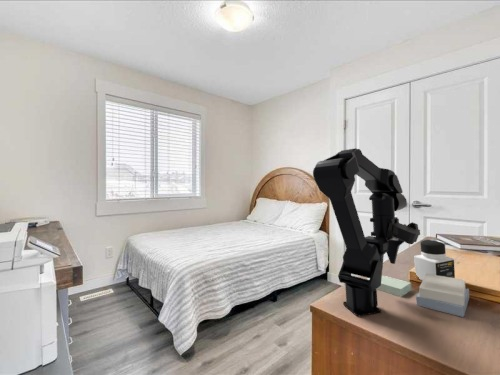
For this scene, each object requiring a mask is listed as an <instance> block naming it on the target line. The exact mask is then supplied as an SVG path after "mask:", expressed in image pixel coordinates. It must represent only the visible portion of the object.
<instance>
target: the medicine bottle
mask: <svg viewBox="0 0 500 375" xmlns="http://www.w3.org/2000/svg"><path fill="white" fill-rule="evenodd" d="M446 251H447V250H446V244H445V242H443V241H441V240H438V239H424V240H422V241H420V254H416V255H414V256H413V258H414V259H413V260H414V271H415V272H414V274H415V273H416V275H417V276H418V277H419V279H420V281H421V282H422V281H423V279H424V276H425V274H432V275H438V276H444V277H451V278H456V270H455V260H454V259H455V258H452V257H450V256H447V254H446ZM419 279H418V280H419Z"/></svg>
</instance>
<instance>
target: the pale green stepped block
mask: <svg viewBox="0 0 500 375" xmlns="http://www.w3.org/2000/svg"><path fill="white" fill-rule="evenodd" d="M365 279H367V280H370V278H367V277H365ZM376 290H377V291H381V292H385V293H388V294H391V295H394V296H397V297H401V298H402V297H403V296H405V295H406V294H408V293H410V292H411V291H412V282H409V281H405V280H401V279H398V278H396V277H395V278H394V277H390V276H386V275H383V274H382V279H381V286H380V287H378V288H377V289H376Z"/></svg>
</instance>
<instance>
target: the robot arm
mask: <svg viewBox="0 0 500 375" xmlns="http://www.w3.org/2000/svg"><path fill="white" fill-rule="evenodd" d="M312 176H313V179H314V181H315V184H316V186H317V188H318V190H319V191H320V192H321V193H322V194H323V195H325V196H326V197H327V198H328V199H329V201H330V205H331V207H332V209H333V213H334V215H335V218H336V221H337V224H338V227H339V228H338V229H339V231H340V233H341V236H342V239H343V242H344V245H345V246H344V247H345V251H344V254H343V256H342V259H343V262H342V264H341V267H340V268H339V269H340V270H339V271H338V274H337V276H338V281H339V283H343V284H344V287H345V297H346V298H345V301H343V302H342V303H343V305H344V306H345V307H346V308H347V307H348V308H349V309H350V310H349V309H348V308H347V309H348V310H349V311H350V312H352V313H353V314H354V313H355V314H356V315H357V317H361V316H368V315H374V314H378V313H381V312H382V310H381V308H379V307H378V289H377V288H378V287H380V286H381V279H382V275H383V269H384V268H383V267H384V257H385V256H384V255H385V254H386V255H387V258H388V260H389V262H390V264H391V265H392V264H393V265H394V264H396V260H397V256H398V253H399V249H400V247H401V245H402V244H404V243H406V244H407V245H413V244H414V243H416V242H417V241H418V238H419V236H420V235H421V230H420V229H419V224H417V223H415V222H410V223H408V224H406V223H404V224H403V223H400V219H399V218H398V217H397V216H396V215H395V214H396V212H398V211H400V210H403V209H404V208H405V207H406V206H407V198H406V196H405V195H404V194H403V189H402V186H401V184H400V183H401V182H400V180H399V177H398V175H397V174H396V172H394V171H393V170H392V169H389V168H382V167H379V166H378V165H376V164H375V163H374V162H373V161H371V160H370V159H369V158H368V157H367V156H366V155H364V154H363V152H362V150H361V149H360V148H356V147H355V148H350V149H342V150H341V151H339V152H337V153H335V154H334V155H332V156H330V157H328V158H325V159H324V160H319V161H317V163H316V164H315V166H314V168H313V171H312ZM355 176H358V177H359V178H361V179H362V180H364V181H365V182H364V186H365V187H366V188H367V190H368V191H370V192H371V193H372V194H371V195H370V196H369V198H368V200H369V201H371V212H372V217H370V218H369V222H371V223H372V228H373V229H372V230H373V231H371V232H370V235H366V236H365V233H364V230H363V227H362V223H361V220H360V217H359V213H358V211H357V208H356V204H355V200H354V198H353V194H352V190H353V187H354V185H355V182H356V178H355ZM363 277H364V278H363ZM366 278H370V280H367V279H366ZM355 314H354V315H355ZM356 315H355V316H356Z"/></svg>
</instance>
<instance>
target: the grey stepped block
mask: <svg viewBox="0 0 500 375" xmlns="http://www.w3.org/2000/svg"><path fill="white" fill-rule="evenodd" d="M469 300H470V289H469V288H466V279H462V278H456V277H455V278H451V277H444V276H438V275H432V274H425V276H424V279H423V281H422V280H421V283H420V285H419V290H418V293H417V294H416V296H415V301H416V302H415V303H416V306H419V307H422V308H427V309H430V310H434V311H438V312H442V313H446V314H450V315H454V316H457V317H461V318H464V317H465V314H466V312H467V308H468V307H467V306H468V304H469Z"/></svg>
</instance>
